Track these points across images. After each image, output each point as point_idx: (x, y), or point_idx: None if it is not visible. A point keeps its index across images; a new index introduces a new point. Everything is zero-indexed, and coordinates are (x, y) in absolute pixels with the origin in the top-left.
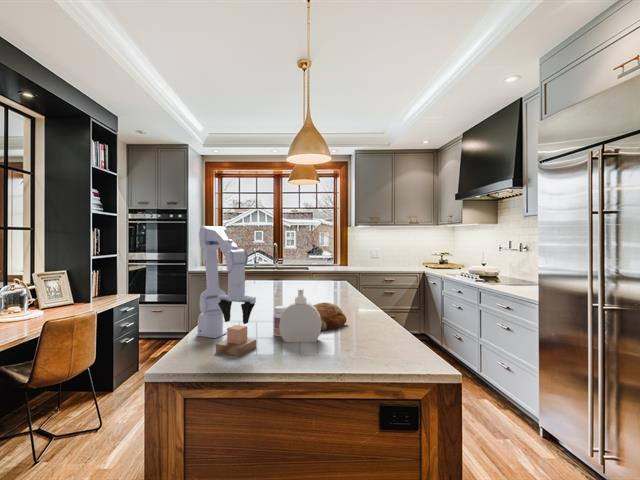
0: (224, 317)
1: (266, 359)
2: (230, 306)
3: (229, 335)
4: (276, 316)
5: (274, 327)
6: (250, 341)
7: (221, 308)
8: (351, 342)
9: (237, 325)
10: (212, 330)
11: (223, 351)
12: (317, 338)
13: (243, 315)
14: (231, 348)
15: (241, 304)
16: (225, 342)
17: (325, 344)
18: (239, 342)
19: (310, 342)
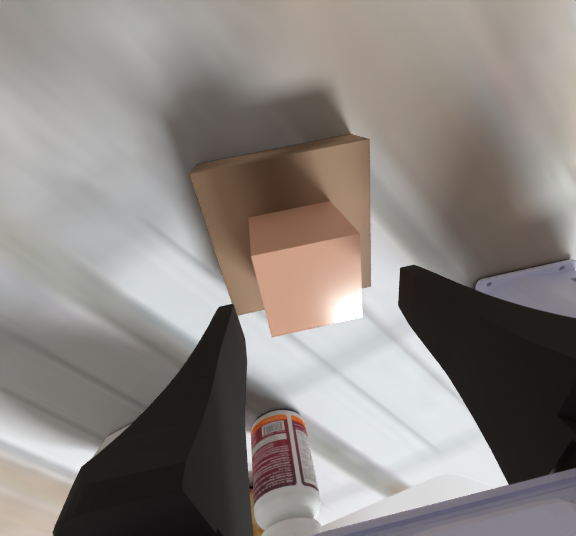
0: (437, 277)
1: (50, 205)
2: (479, 417)
3: (325, 219)
4: (288, 493)
5: (293, 438)
6: (235, 281)
7: (547, 318)
8: (17, 488)
9: (343, 317)
10: (519, 299)
11: (305, 145)
12: (94, 455)
13: (211, 352)
14: (253, 158)
15: (170, 490)
16: (338, 195)
17: (61, 442)
18: (249, 223)
19: (121, 429)
